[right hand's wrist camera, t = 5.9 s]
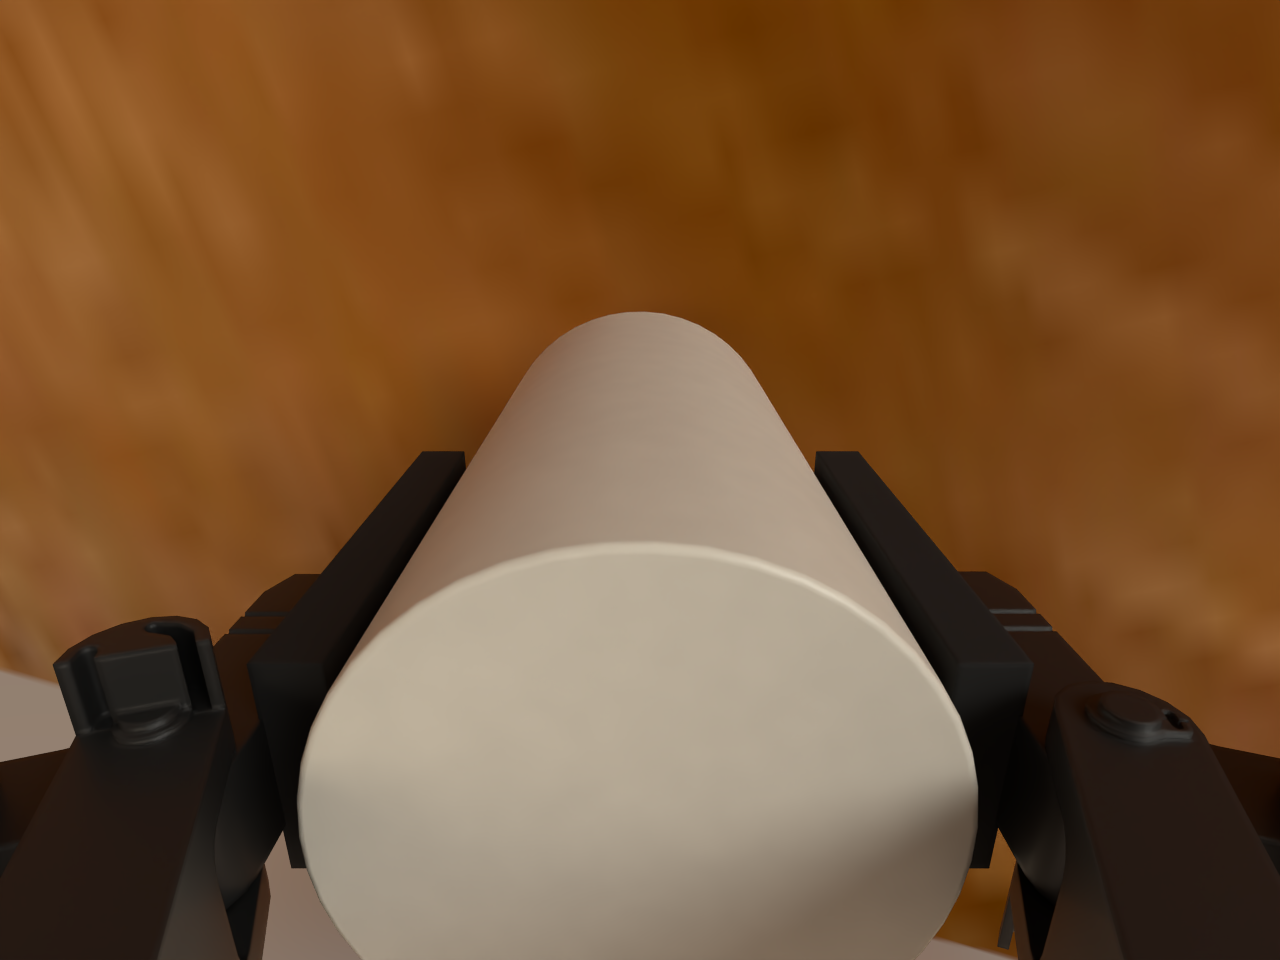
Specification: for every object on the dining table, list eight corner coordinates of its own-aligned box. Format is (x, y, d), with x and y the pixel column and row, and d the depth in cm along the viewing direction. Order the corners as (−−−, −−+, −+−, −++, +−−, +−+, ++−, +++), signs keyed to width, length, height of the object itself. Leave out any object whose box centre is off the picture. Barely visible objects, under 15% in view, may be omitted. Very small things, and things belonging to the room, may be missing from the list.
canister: (773, 551, 19) (958, 1056, 8) (527, 570, 19) (373, 1088, 8) (767, 299, 17) (1013, 513, 6) (489, 323, 17) (204, 576, 6)
